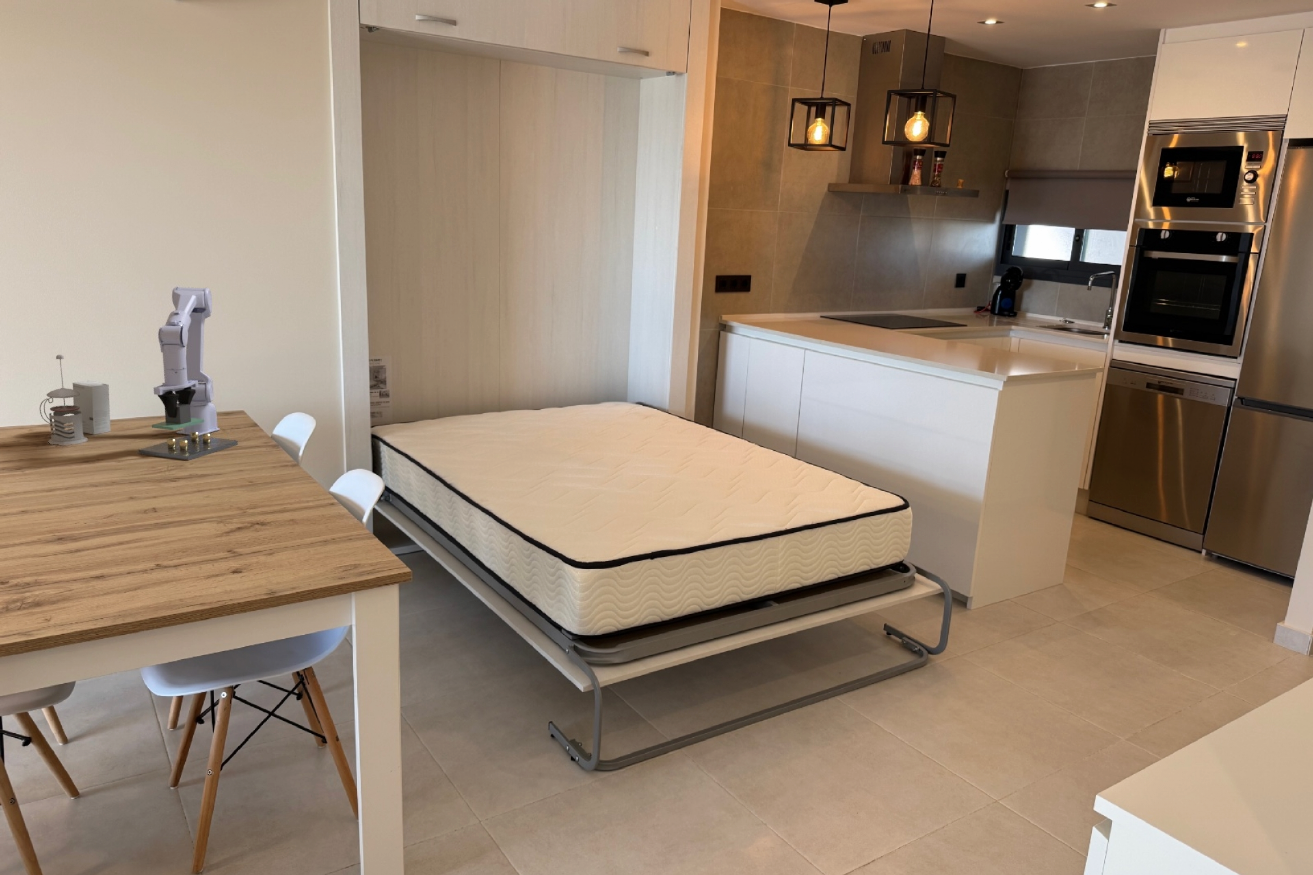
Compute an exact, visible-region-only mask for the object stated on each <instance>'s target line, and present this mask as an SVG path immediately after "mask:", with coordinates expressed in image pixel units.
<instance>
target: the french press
mask: <svg viewBox="0 0 1313 875" xmlns="http://www.w3.org/2000/svg"><path fill="white" fill-rule="evenodd" d="M55 359H56V360H59V365H60V367H59V368H60V375H61V388H57V389H54V390H50V391H49V392H48V393H46V396H47V398H45V399H43V400H42V401H41V402H40V405H39V414H40V417H41V418H42V419H43V420H44V422H46V423H48V424H49V427H50V437H51V438H50V439H49V440H47V443H48V442H49V443H50V444H49V443H48V444H49V445H53V444H59V445H58V446H67V445H68V446H70V445H71V444H72V445H78V444H82V443H86V442H87V441H89V439H88V438H87V437H85V436H84V433H83V427H82V416H81V412H80V411H75V410H78V409H79V408H80V407H79V406H75V405H74V404H72V405H71V404H70V405H69V404H68V405H67V404H66V400H65V399H70V398H73V397H77V396H79V395H80V393H79V392H78V391H76V390H73V388H65V387H64V380H63V379H64V378H63V369H62V360H64V359H65V357H64V355H63V354H57V355H56V357H55ZM50 399H51V402H50ZM54 399H63V405H57V406H52V407H50V408H49V410H50V411H51V412H50V413H48V416H49V417H48V416H47V413H46V409H45V408H46V407H45V406H46V403H47V402H48V403H49V404H52V403H54ZM43 403H44V404H43ZM42 405H43V412H44V414H45V416H46V418H47V420H49V421H47V420H46V419H45V418H44V417H43V415H42V410H41V409H42V408H41V407H42ZM52 414H53V415H52ZM74 414H75V415H74ZM66 424H67V425H66Z"/></svg>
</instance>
